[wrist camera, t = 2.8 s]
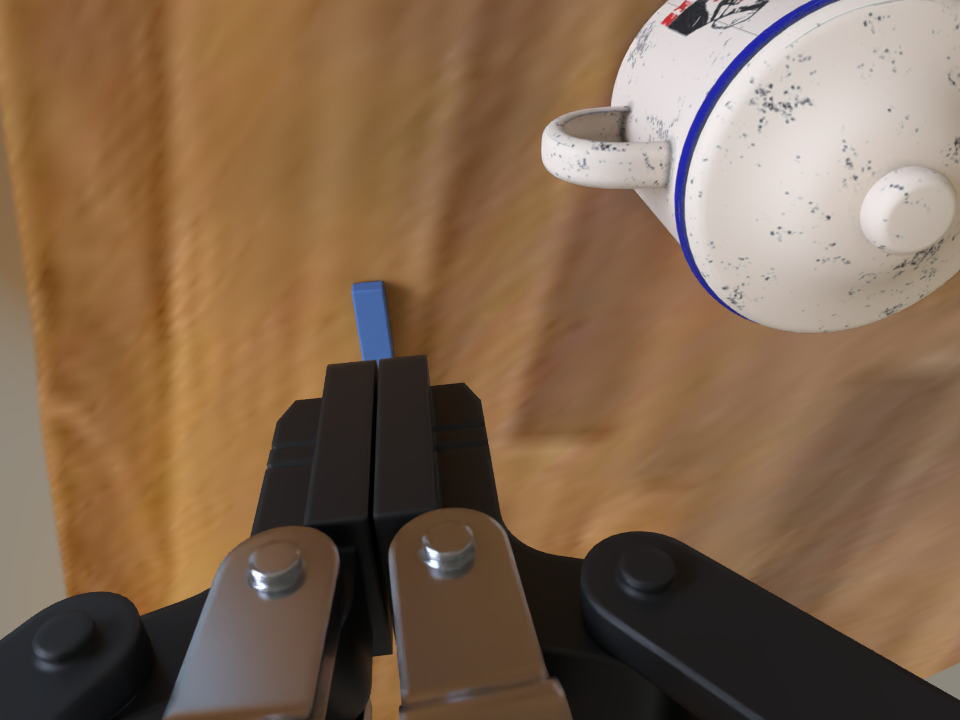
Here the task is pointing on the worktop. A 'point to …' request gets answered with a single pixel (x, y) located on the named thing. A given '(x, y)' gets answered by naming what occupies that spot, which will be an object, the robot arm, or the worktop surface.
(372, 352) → the spoon
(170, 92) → the worktop surface
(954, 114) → the teacup with lid
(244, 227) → the worktop surface
